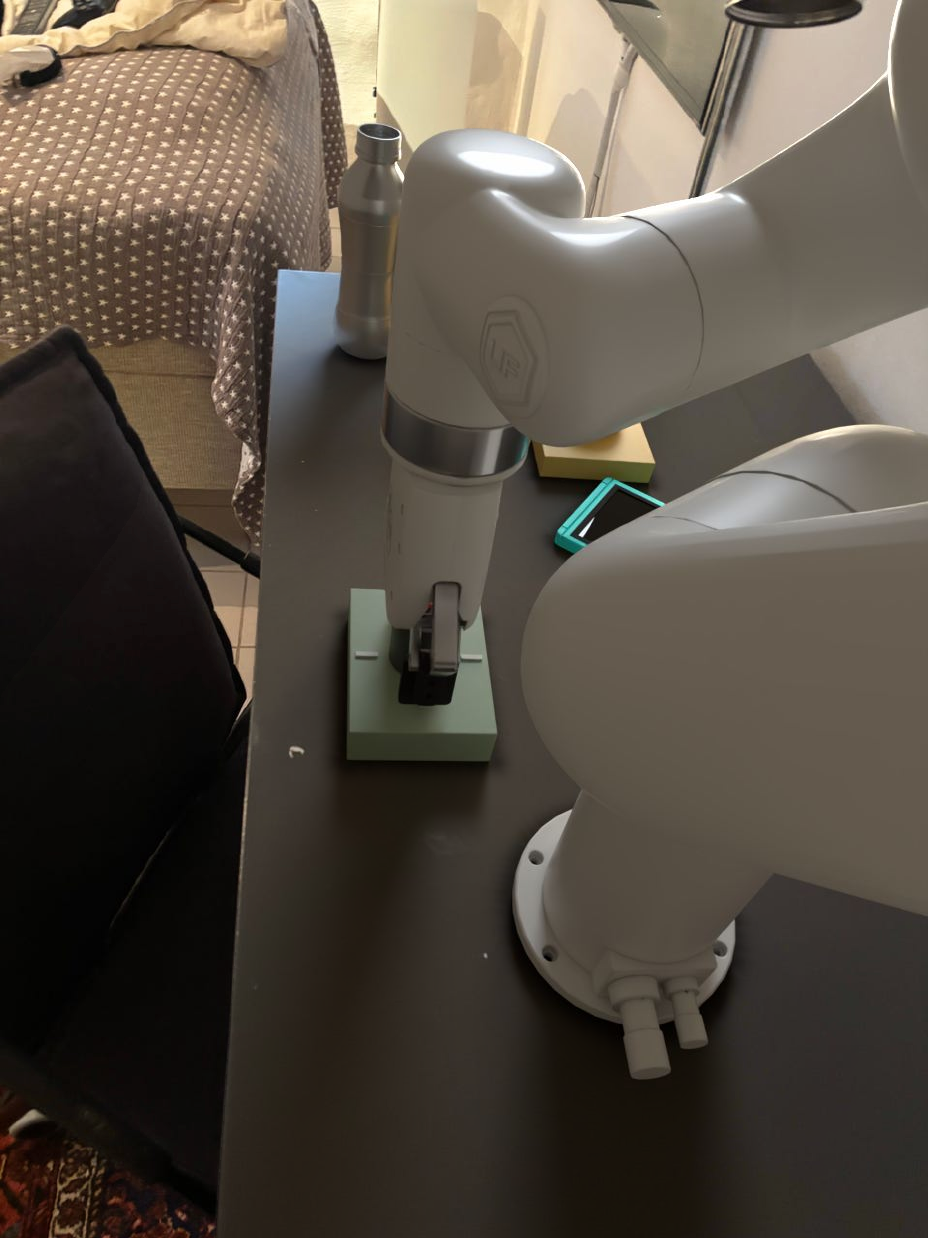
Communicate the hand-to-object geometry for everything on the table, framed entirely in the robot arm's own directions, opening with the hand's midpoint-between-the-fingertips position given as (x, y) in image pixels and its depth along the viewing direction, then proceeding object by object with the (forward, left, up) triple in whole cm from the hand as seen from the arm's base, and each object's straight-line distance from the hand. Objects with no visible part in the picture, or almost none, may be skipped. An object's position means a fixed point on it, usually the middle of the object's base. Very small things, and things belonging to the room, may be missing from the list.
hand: (420, 644), depth 56 cm
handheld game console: (+14, -21, -4) cm, 26 cm away
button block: (+30, -17, -4) cm, 35 cm away
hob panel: (0, 0, -4) cm, 4 cm away
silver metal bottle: (+42, +3, -4) cm, 42 cm away
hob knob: (0, 0, -1) cm, 1 cm away
